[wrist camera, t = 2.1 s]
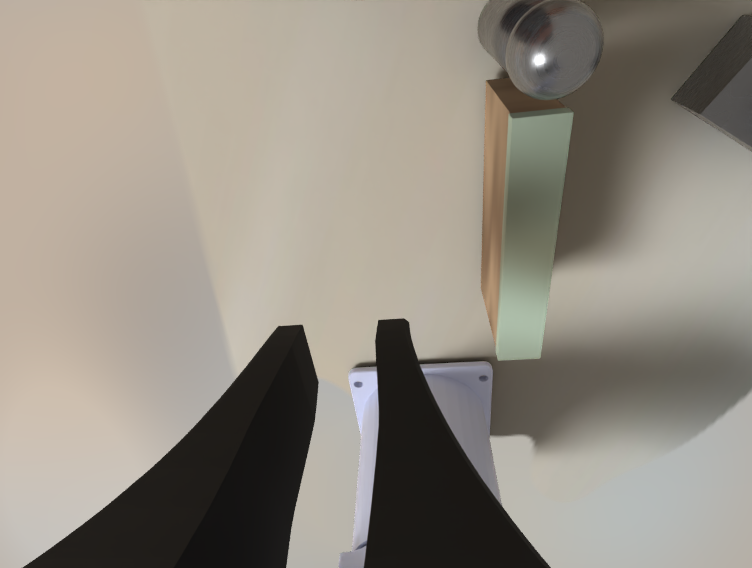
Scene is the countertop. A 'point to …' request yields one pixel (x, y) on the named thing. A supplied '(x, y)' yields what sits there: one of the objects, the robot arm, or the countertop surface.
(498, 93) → the rail
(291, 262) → the countertop surface
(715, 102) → the latch
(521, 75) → the hinge pin
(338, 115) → the countertop surface
